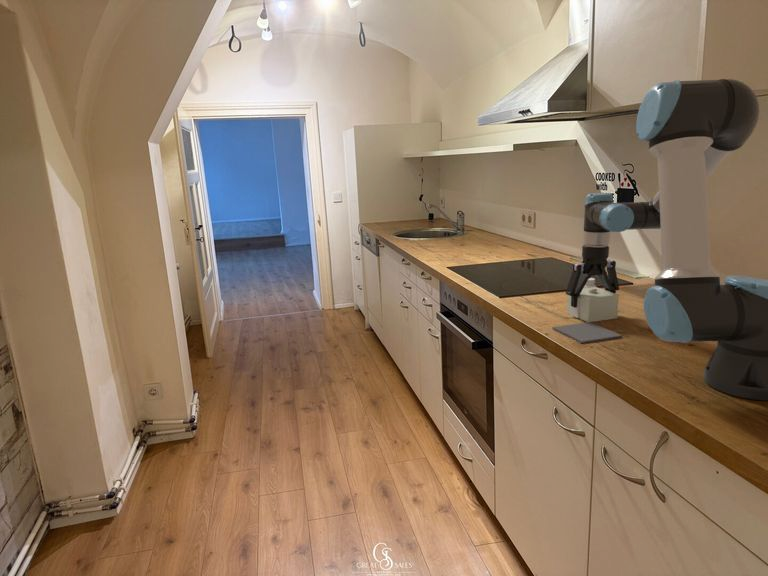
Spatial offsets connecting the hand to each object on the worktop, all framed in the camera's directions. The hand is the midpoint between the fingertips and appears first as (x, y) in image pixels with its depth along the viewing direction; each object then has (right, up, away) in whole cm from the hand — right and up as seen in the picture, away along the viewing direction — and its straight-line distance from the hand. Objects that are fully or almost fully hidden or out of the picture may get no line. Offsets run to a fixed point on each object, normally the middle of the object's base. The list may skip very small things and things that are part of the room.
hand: (590, 314), depth 159 cm
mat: (-8, -4, -15) cm, 18 cm away
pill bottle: (+4, +3, +12) cm, 13 cm away
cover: (0, 0, 0) cm, 0 cm away
